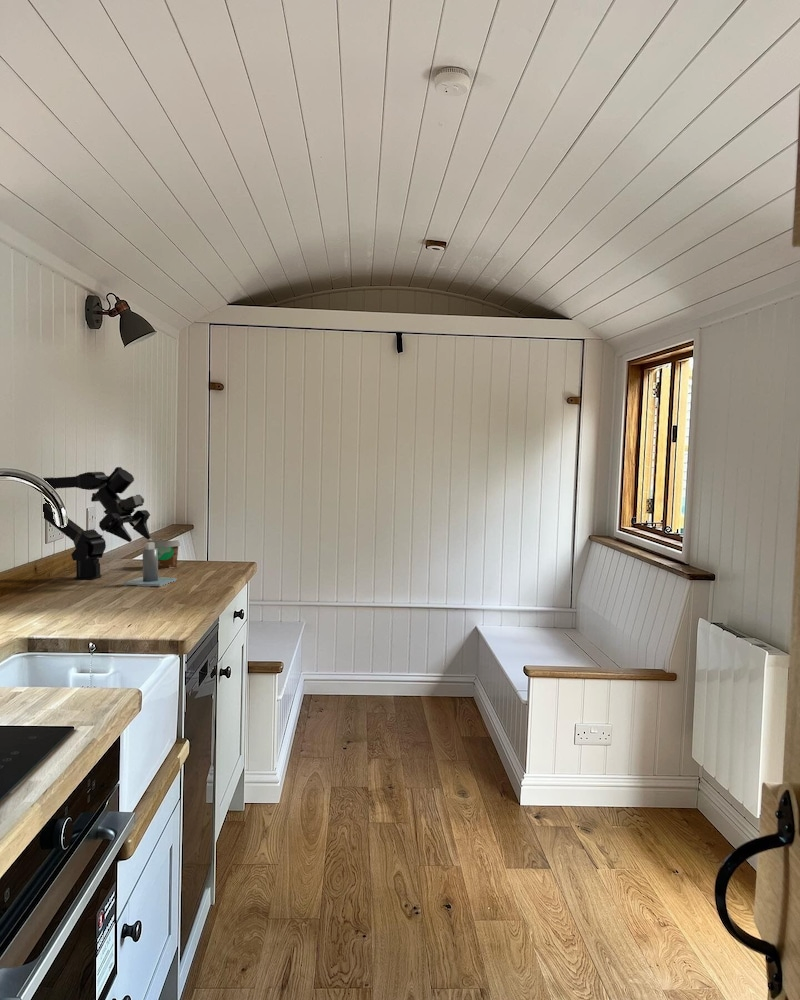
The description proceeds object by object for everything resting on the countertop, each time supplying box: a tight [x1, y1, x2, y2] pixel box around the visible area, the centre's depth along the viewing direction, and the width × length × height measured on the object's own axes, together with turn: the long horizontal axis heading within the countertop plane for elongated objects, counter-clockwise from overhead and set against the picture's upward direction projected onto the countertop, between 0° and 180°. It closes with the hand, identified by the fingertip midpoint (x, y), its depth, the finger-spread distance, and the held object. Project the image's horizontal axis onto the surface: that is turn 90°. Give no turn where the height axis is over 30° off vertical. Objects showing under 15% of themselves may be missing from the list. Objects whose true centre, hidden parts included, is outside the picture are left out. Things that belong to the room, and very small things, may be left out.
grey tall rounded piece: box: [142, 542, 159, 582], centre depth 246 cm, size 5×5×12 cm
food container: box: [147, 538, 181, 568], centre depth 276 cm, size 12×6×10 cm, turn 73°
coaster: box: [123, 576, 178, 587], centre depth 246 cm, size 12×12×1 cm
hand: (140, 539), depth 246 cm, fingers open, 9 cm apart
